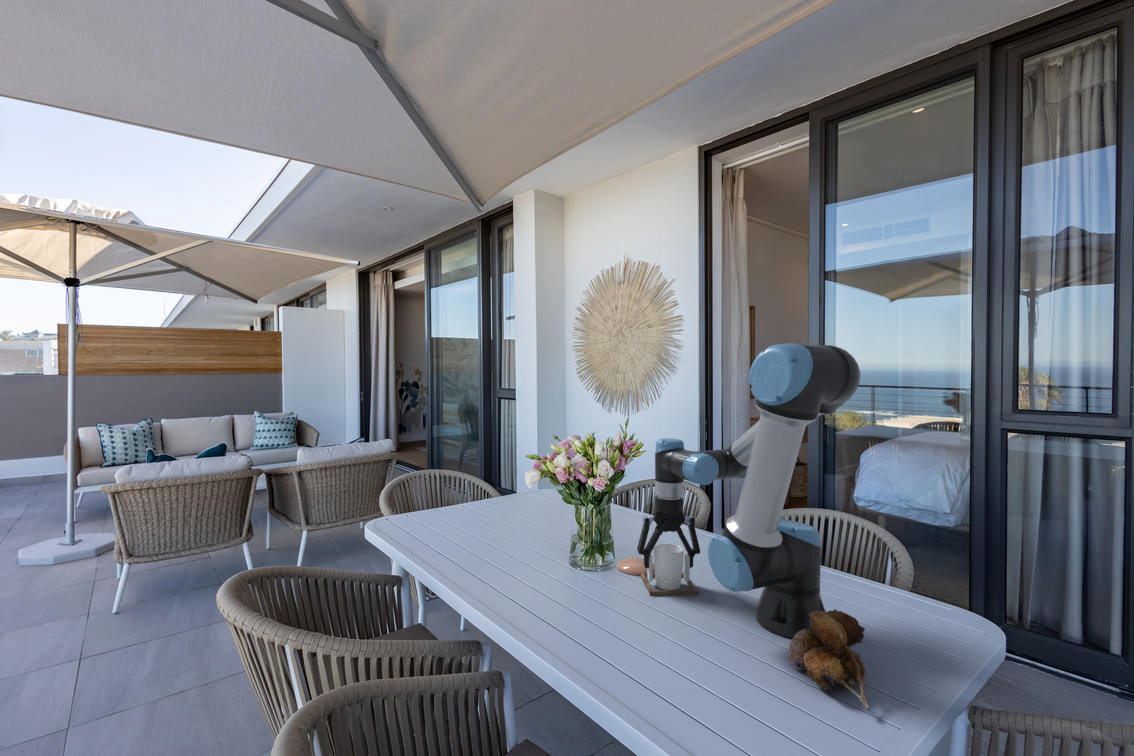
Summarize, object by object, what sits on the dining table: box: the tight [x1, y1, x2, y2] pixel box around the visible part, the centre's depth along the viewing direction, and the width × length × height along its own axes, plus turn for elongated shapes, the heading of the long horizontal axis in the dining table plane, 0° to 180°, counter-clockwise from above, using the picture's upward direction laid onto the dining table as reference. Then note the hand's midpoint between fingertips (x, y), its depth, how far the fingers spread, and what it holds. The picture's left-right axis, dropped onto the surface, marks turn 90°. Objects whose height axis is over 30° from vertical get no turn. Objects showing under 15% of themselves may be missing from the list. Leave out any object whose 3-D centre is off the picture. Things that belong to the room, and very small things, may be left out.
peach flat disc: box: [616, 557, 655, 576], centre depth 150 cm, size 11×11×1 cm
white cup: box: [653, 543, 685, 590], centre depth 138 cm, size 8×8×10 cm
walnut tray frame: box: [640, 571, 699, 597], centre depth 138 cm, size 13×13×1 cm
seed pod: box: [788, 609, 870, 710], centre depth 95 cm, size 13×16×15 cm
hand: (668, 579), depth 138 cm, fingers open, 9 cm apart
